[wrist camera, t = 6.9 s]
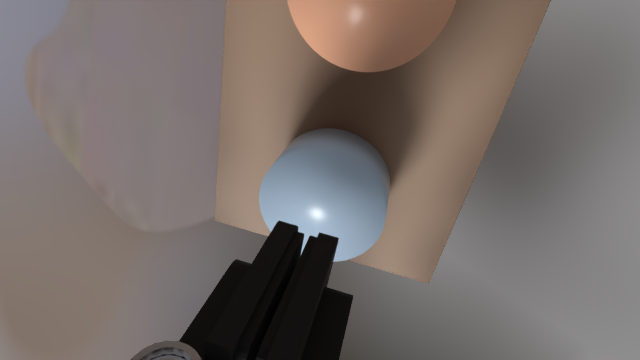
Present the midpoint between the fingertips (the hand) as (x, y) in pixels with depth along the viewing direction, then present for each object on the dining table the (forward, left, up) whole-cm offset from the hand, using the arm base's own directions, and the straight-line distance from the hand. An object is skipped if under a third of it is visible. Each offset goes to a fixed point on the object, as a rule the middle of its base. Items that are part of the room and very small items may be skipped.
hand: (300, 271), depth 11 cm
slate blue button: (0, 0, -5) cm, 5 cm away
